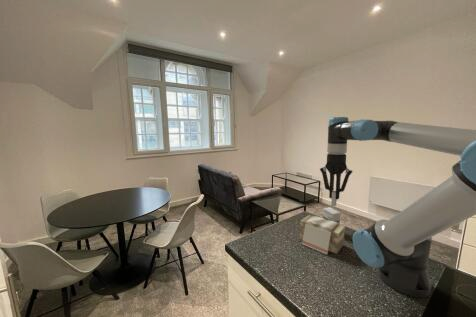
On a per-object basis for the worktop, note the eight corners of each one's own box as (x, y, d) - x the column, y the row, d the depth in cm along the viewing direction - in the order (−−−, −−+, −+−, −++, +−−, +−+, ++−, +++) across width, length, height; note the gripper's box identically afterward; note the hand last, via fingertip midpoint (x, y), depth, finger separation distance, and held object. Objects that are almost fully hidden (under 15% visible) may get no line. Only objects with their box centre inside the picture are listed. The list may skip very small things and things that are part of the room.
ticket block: (343, 244, 96) (345, 224, 94) (336, 254, 89) (338, 231, 87) (308, 231, 108) (309, 213, 107) (299, 239, 101) (300, 219, 99)
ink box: (321, 226, 114) (322, 207, 112) (328, 225, 115) (329, 206, 114) (332, 234, 106) (333, 213, 104) (339, 232, 107) (341, 212, 106)
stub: (331, 232, 89) (330, 232, 89) (327, 254, 89) (326, 254, 88) (306, 223, 98) (305, 223, 97) (302, 243, 97) (301, 244, 96)
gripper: (355, 153, 84) (351, 206, 86) (323, 152, 92) (321, 200, 95) (352, 154, 78) (348, 211, 81) (318, 153, 86) (316, 204, 89)
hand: (333, 205), depth 88 cm, fingers closed
